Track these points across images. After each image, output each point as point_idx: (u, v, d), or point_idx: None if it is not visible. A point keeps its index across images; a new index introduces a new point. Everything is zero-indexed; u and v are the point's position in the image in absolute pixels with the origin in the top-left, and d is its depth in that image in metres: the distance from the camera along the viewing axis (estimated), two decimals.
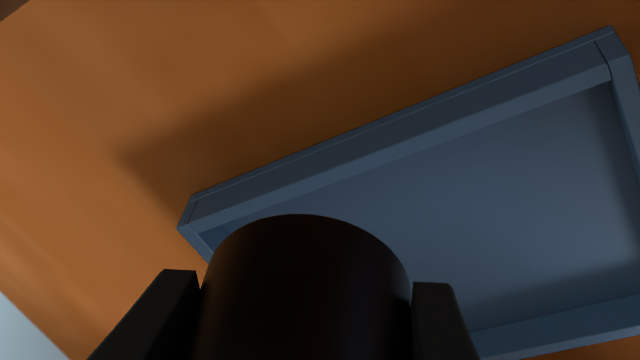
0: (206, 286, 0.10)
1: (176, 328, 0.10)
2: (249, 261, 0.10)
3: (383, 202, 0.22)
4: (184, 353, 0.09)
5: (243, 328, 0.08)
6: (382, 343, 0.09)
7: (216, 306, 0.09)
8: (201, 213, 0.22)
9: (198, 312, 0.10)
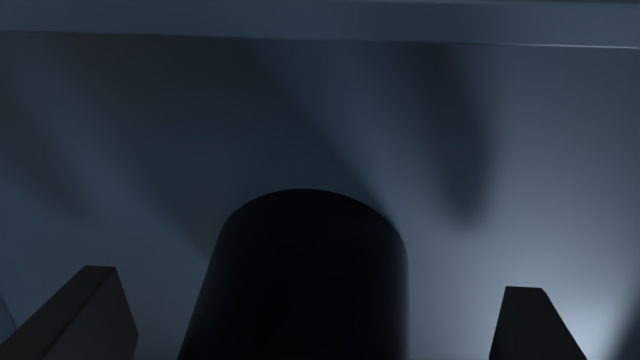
0: (216, 256, 0.11)
1: (89, 323, 0.10)
2: (256, 231, 0.10)
3: (257, 140, 0.10)
4: (196, 315, 0.10)
5: (251, 290, 0.09)
6: (381, 305, 0.09)
7: (227, 272, 0.10)
8: None
9: (209, 279, 0.10)
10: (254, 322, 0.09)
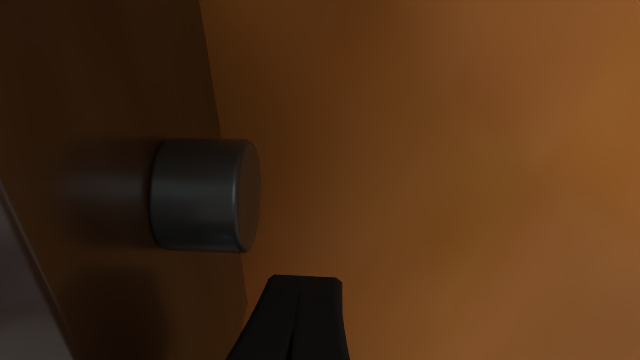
0: None
1: None
2: None
3: None
4: None
5: None
6: None
7: None
8: None
9: None
10: None
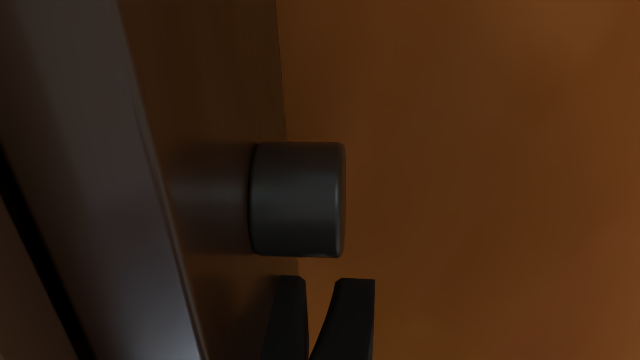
0: None
1: (372, 340, 0.09)
2: None
3: None
4: None
5: None
6: None
7: None
8: None
9: None
10: None
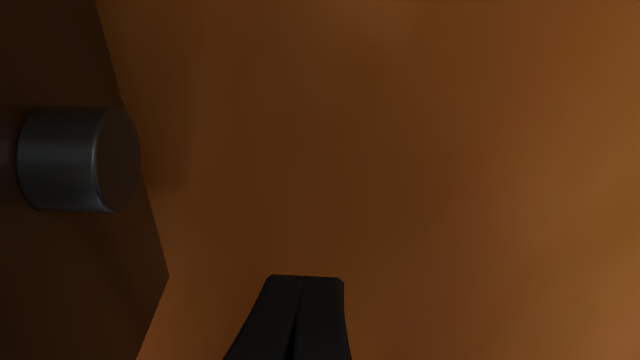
0: None
1: (295, 335, 0.09)
2: None
3: None
4: None
5: None
6: None
7: None
8: None
9: None
10: None
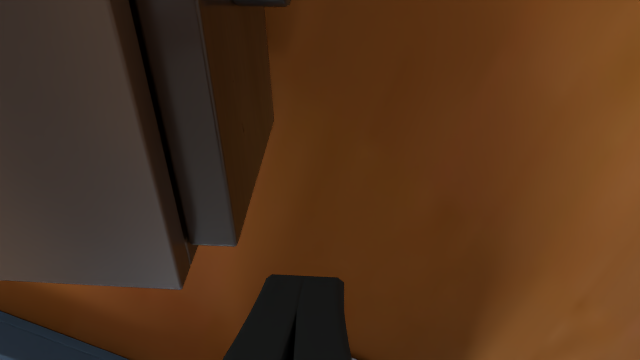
0: None
1: (295, 335, 0.09)
2: None
3: None
4: None
5: None
6: None
7: None
8: None
9: None
10: None
